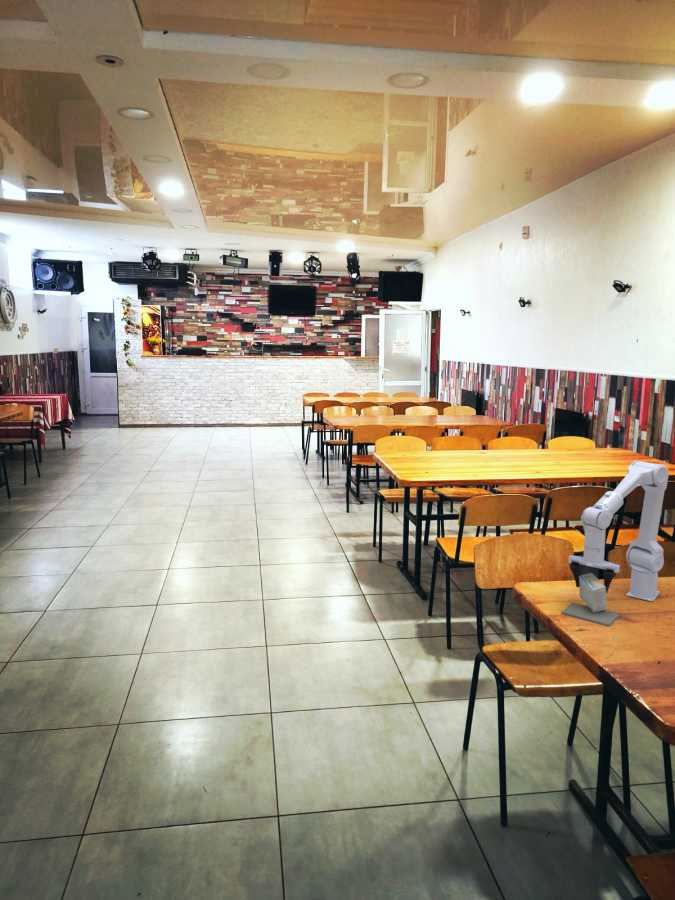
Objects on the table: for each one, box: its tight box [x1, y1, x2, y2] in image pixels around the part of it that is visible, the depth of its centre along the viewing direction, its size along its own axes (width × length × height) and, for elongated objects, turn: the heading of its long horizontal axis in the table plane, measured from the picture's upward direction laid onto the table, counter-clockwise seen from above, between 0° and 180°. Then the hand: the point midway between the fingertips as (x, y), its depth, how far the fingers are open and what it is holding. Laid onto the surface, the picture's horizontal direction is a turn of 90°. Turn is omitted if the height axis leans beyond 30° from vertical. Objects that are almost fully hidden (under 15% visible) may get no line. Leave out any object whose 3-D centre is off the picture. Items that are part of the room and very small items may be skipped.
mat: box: [560, 602, 620, 627], centre depth 180 cm, size 9×14×1 cm, turn 49°
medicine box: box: [578, 572, 608, 612], centre depth 182 cm, size 8×4×9 cm, turn 10°
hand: (591, 589), depth 183 cm, fingers open, 7 cm apart
